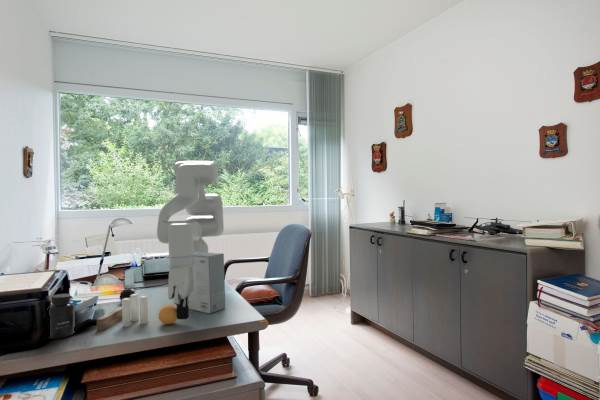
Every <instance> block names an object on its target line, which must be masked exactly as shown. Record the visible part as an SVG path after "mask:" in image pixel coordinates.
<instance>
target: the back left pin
mask: <svg viewBox="0 0 600 400" xmlns="http://www.w3.org/2000/svg"><path fill="white" fill-rule="evenodd" d="M121 306H122V320H121V321H122V323H121V325H122V327H123V328H127V327H130V326H132V323H131V322H132V321H131V303H130V298H124V299H122V302H121Z"/></svg>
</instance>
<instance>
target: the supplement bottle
mask: <svg viewBox="0 0 600 400" xmlns="http://www.w3.org/2000/svg"><path fill="white" fill-rule="evenodd" d="M71 299H72V298H71V293H61V294H60V293H57V294H54V295H52V296H51V300H50V303H51V305H49V306H50V309H49V315H50V338H51V340H59V339H60V340H61V339H64V338H69V337H71V336H72V335H74V334H73V333H75V331H74V327H75V304H74V303H72V302H71ZM50 338H49V339H50Z"/></svg>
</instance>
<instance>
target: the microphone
mask: <svg viewBox="0 0 600 400" xmlns="http://www.w3.org/2000/svg"><path fill="white" fill-rule="evenodd" d="M132 294H136V293H135V290H133V289H131V288H125V289H124V290H122V291H121V292H120V295H119V300H120V302H121V303H122V299H124V298H130V295H132Z"/></svg>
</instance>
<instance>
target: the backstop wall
mask: <svg viewBox="0 0 600 400" xmlns="http://www.w3.org/2000/svg"><path fill="white" fill-rule="evenodd" d="M120 321H122V305H121V306H119V307H117V308H115V309H113V310H111V311H109V312H108V313H105V314H104V315H102V316H100V317H98V318H96V331H101V332H102V331H105V330H106V329H108V328H110V327H111V326H114V325H115V324H117V323H119V322H120Z"/></svg>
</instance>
